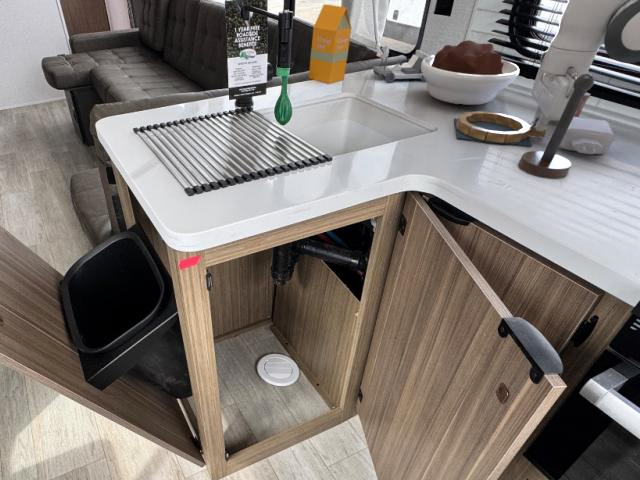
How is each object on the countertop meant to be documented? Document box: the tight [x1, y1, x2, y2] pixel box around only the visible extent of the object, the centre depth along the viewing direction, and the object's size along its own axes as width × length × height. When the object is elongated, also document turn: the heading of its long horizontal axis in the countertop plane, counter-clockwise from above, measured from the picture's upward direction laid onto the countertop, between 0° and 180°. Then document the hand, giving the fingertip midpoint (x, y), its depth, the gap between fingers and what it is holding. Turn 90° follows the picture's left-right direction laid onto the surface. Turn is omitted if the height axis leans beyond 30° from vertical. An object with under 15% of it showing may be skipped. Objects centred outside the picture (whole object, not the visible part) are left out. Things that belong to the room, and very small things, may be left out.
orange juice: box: [308, 4, 352, 85], centre depth 135 cm, size 8×9×20 cm
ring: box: [456, 110, 548, 143], centre depth 104 cm, size 19×16×2 cm
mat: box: [453, 117, 533, 148], centre depth 105 cm, size 16×14×1 cm
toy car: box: [372, 45, 431, 84], centre depth 140 cm, size 18×10×12 cm
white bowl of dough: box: [421, 39, 520, 106], centre depth 120 cm, size 25×25×15 cm
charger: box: [559, 116, 616, 155], centre depth 96 cm, size 5×9×15 cm
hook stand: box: [517, 73, 595, 179], centre depth 84 cm, size 9×9×18 cm
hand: (537, 127), depth 102 cm, fingers closed on ring, 2 cm apart
